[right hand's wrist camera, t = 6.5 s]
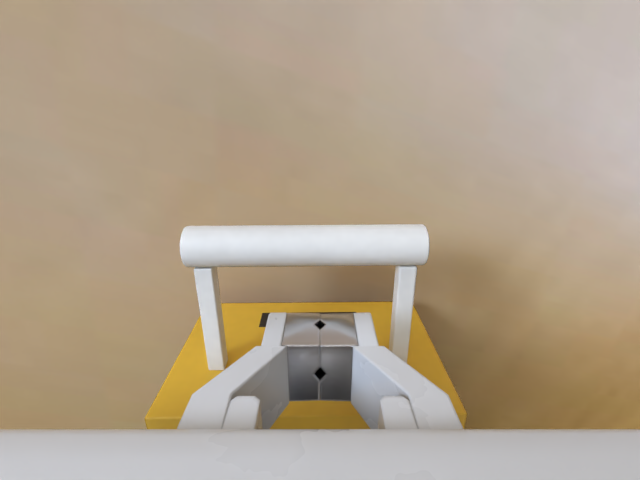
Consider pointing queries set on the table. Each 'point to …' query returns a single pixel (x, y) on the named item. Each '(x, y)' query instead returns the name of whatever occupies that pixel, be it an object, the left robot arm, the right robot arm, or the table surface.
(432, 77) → the table surface
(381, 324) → the drawer
